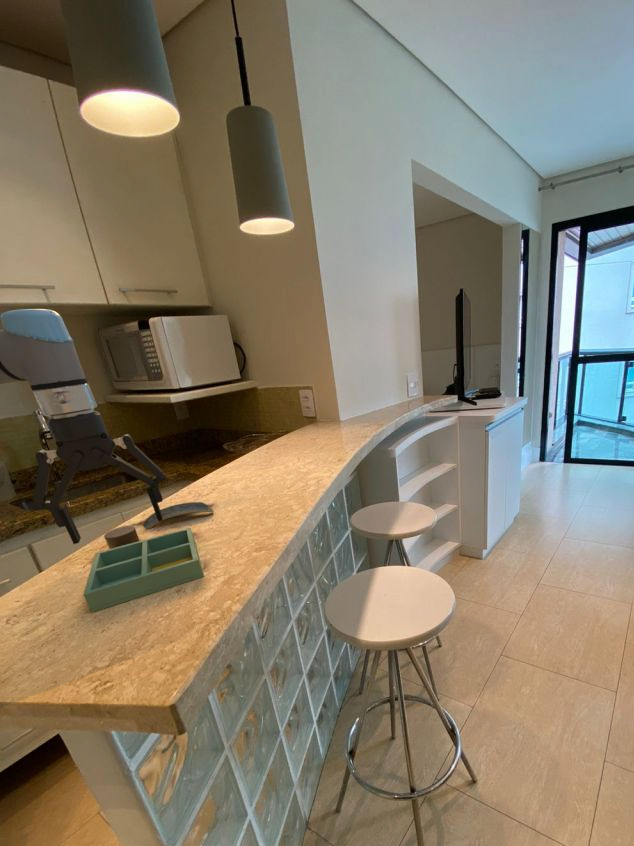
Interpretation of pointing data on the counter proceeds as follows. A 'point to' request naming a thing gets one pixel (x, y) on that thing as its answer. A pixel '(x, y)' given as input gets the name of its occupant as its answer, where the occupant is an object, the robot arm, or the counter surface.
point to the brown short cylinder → (121, 536)
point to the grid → (142, 569)
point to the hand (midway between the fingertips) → (120, 529)
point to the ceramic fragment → (176, 512)
